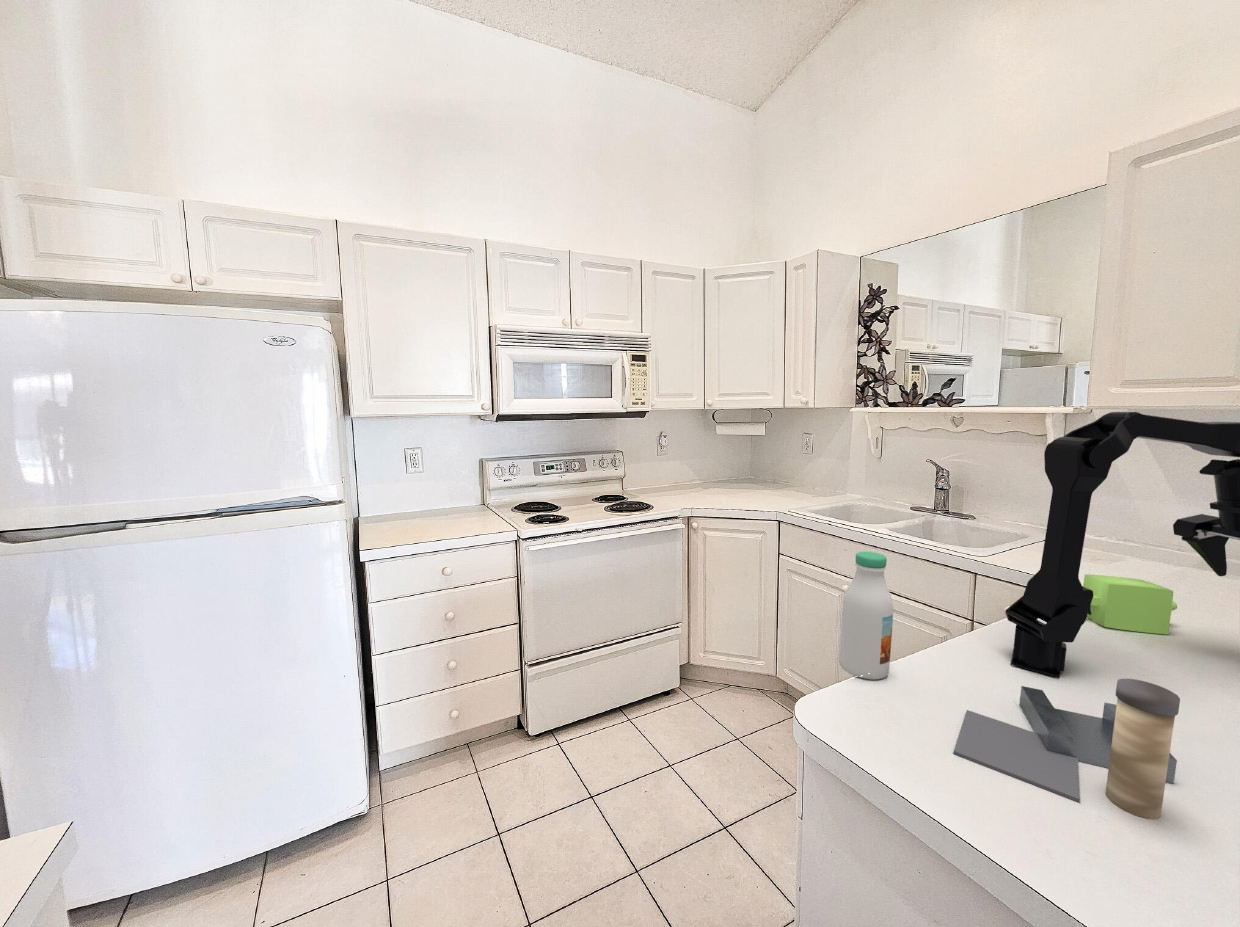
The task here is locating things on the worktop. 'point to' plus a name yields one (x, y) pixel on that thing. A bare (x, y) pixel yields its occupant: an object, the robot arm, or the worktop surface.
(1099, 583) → the gearbox
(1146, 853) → the worktop surface
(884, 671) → the milk bottle
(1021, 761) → the pad
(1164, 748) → the plug
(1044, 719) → the grey bracket
